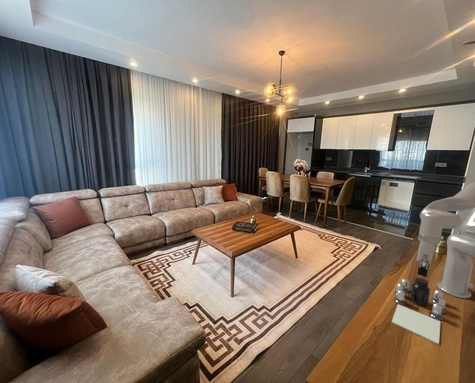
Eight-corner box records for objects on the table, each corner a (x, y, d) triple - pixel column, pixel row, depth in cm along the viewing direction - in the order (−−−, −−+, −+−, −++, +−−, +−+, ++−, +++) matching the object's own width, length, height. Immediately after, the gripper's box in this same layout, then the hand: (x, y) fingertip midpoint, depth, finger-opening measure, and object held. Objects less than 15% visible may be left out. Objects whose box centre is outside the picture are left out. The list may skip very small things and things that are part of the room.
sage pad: (397, 305, 100) (397, 304, 100) (440, 322, 90) (440, 321, 89) (391, 322, 90) (391, 321, 90) (438, 344, 79) (438, 343, 79)
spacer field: (397, 285, 115) (398, 275, 114) (446, 303, 101) (448, 292, 100) (391, 300, 103) (392, 290, 102) (445, 323, 89) (447, 311, 88)
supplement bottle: (423, 298, 104) (427, 277, 102) (430, 308, 98) (434, 286, 96) (407, 296, 106) (410, 275, 104) (413, 305, 100) (417, 283, 98)
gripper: (420, 231, 104) (414, 262, 107) (416, 241, 93) (410, 275, 96) (440, 235, 99) (434, 267, 102) (439, 246, 87) (432, 282, 90)
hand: (422, 271), depth 99 cm, fingers open, 9 cm apart
